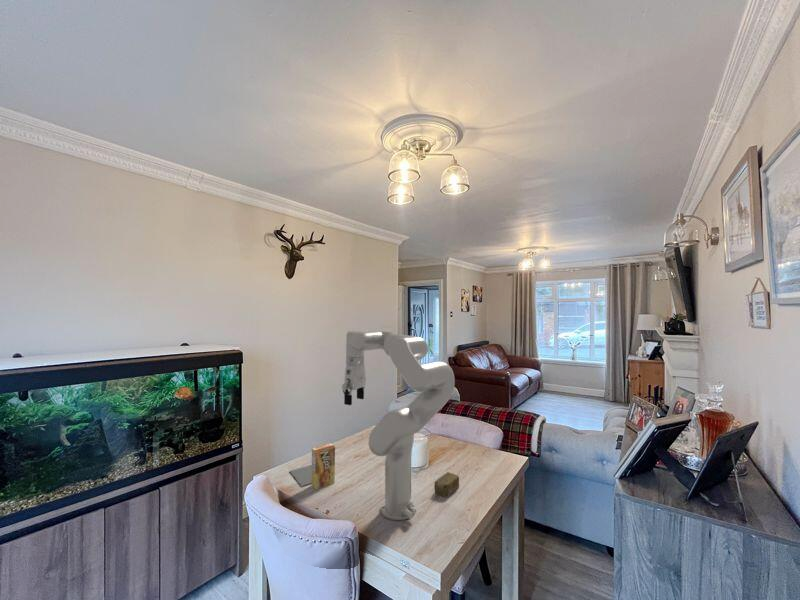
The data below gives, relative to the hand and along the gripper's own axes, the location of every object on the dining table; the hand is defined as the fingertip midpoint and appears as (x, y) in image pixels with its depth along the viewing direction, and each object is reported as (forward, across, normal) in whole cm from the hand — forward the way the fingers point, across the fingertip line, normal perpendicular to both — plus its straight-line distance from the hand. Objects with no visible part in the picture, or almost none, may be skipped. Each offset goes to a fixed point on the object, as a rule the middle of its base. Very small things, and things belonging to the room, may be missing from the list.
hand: (354, 401), depth 140 cm
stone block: (+34, +11, -37) cm, 52 cm away
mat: (+35, 0, +21) cm, 41 cm away
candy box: (+35, -5, +11) cm, 37 cm away
